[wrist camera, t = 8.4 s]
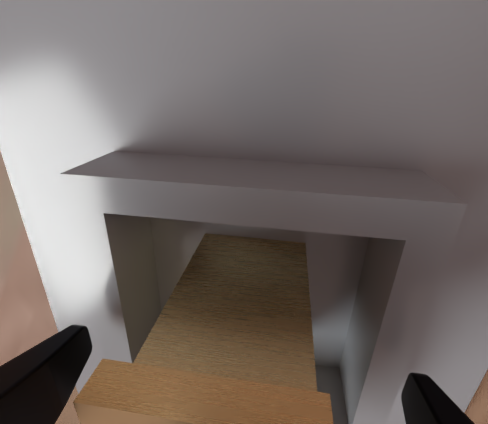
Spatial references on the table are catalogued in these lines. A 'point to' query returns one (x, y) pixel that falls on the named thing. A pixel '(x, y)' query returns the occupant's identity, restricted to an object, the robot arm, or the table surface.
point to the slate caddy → (262, 170)
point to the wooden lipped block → (221, 346)
